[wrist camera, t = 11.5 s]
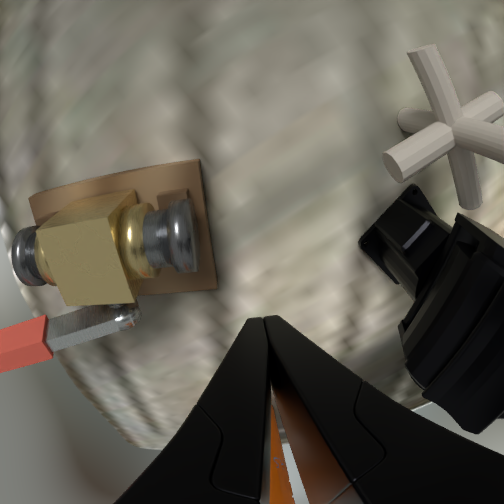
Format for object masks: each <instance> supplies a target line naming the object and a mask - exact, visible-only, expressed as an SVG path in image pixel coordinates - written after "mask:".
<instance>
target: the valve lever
mask: <svg viewBox="0 0 504 504" xmlns="http://www.w3.org/2000/svg"><path fill="white" fill-rule="evenodd" d="M141 316H142V313H141V310H140V307H139V304H138V302H137V299H136V300H135V303H126V304H125V305H123V306H122V307H120V308H116V309H113V308H110V307H109V306H108V304H101V305H92V306H89V307H86V308H83V309H80V310H77V311H74V312H71V313H67V314H64V315H61V316H58V317H55V318H52V319H48V318H47V316H46V315H43V316H40V317H37V318H34V319H31V320H28V321H25V322H22V323H19V324H16V325H13V326H10V327H7V328H4V329H1V330H0V373H2V372H5V371H9V370H13V369H16V368H20V367H24V366H28V365H31V364H35V363H38V362H41V361H45V360H49V359H52V358H53V352H54V351H57V350H60V349H63V348H67V347H70V346H73V345H76V344H80V343H83V342H86V341H89V340H92V339H96V338H99V337H102V336H105V335H108V334H111V333H114V332H117V331H122V330H126V329H129V328H131V327H133V326H135V325H136V324H137V323H138V322H139V320H140V319H141Z"/></svg>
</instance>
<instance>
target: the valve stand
mask: <svg viewBox="0 0 504 504" xmlns="http://www.w3.org/2000/svg"><path fill="white" fill-rule="evenodd" d="M28 199H29V202H30V206H31V209H32V213H33V216H34V219H35V223H36V226H32V227H27V228H24V229H22V230H20V231H19V232H18V233H17V235H16V236H15V239H14V241H13V245H12V264H13V268H14V271H15V273H16V275H17V277H18V278H19V280H20V281H21V282H22V283H23V284H25V285H27V286H42V285H45V284H47V283H48V284H49V285H52V286H57V287H58V289H59V291H60V293H61V295H62V297H63V299H64V302H65V304H66V306H80V305H101V304H108V306H109V307H110V308H113V309H116V308H120V307H122V306H123V305H125V304H126V303H135V300H136V298H137V296H139V295H152V294H164V293H176V292H188V291H199V290H209V289H217V275H216V269H215V263H214V257H213V250H212V244H211V237H210V231H209V224H208V217H207V210H206V203H205V196H204V189H203V181H202V174H201V166H200V159H195V160H187V161H180V162H174V163H167V164H161V165H155V166H150V167H144V168H139V169H133V170H128V171H123V172H119V173H114V174H109V175H105V176H100V177H96V178H92V179H87V180H83V181H79V182H75V183H71V184H68V185H64V186H60V187H57V188H53V189H49V190H46V191H43V192H39V193H36V194H34V195H32V196H31V197H29V198H28Z"/></svg>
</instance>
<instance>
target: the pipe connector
mask: <svg viewBox="0 0 504 504" xmlns="http://www.w3.org/2000/svg"><path fill="white" fill-rule="evenodd" d="M407 55H408V57H409V58H410V60H411V62H412V64H413V67H414V69H415V71H416V73H417V75H418V77H419V79H420V81H421V84H422V86H423V88H424V91H425V93H426V95H427V98H428V100H429V103H430V105H431V108H432V110H433V111H429V110H422V109H415V108H403V109H401V110H400V112H399V113H398V118H397V119H398V124H399V126H400V128H401V129H402V130H403V131H405V132H409V133H413V134H414V135H412V136H410V137H409V138H407V139H405V140H404V141H402V142H400V143H398V144H397V145H395V146H393V147H392V148H390V149H388V150H387V151H385V152H383V155H382V158H383V162H384V164H385V166H386V168H387V170H388V172H389V173H390V174H391V176H392V177H393V178H394V179H395V180H396V181H397V182H399V183H403V182H404V181H406V180H407V179H409V178H410V177H412V176H414V175H415V174H417V173H418V172H420V171H421V170H423V169H424V168H426V167H427V166H429V165H430V164H432V163H434V162H435V161H437V160H438V159H440V158H441V157H443V156H444V155H446V154H447V155H448V159H449V162H450V166H451V170H452V174H453V178H454V182H455V187H456V191H457V196H458V201H459V205H460V206H461V207H462V208H464V209H467V210H473V209H476V208H478V207H480V206H481V204H482V203H483V201H482V193H481V187H480V181H479V175H478V170H477V165H476V161H475V156H474V153H477V154H480V155H482V156H485V157H488V158H490V159H493V160H495V161H498V162H500V163H502V164H504V126H500V125H497V124H493V122H495V121H496V120H498V119H499V118H500V117H502V116H503V115H504V103H503V101H502V99H501V98H500V96H499V95H498V94H497V93H495V92H492V91H489V92H486V93H485V94H483V95H481V96H479V97H477V98H476V99H474V100H472V101H470V102H469V103H467V104H465V105H463V106H462V107H461V106H460V103H459V100H458V97H457V95H456V92H455V89H454V87H453V84H452V81H451V79H450V77H449V74H448V72H447V69H446V67H445V65H444V62H443V60H442V58H441V56H440V54H439V52H438V50H437V47H436V45H435V44H431V45H426V46H422V47H418V48H415V49H412V50H410V51H408V52H407Z"/></svg>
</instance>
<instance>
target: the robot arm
mask: <svg viewBox="0 0 504 504" xmlns="http://www.w3.org/2000/svg"><path fill="white" fill-rule="evenodd" d="M414 189H415V191H414V193H413V190H414ZM365 241H367V243H365V244H364V242H365ZM359 245H360V247H361V248H362V249H363V250H364V251H365V252H366V253H367V254H368V255H369V256H370V257H371V258H372V259H373V260H374V261H375V262H376V263H377V264H378V265H379V266H380V268H381V269H382V270H383V271H384V272H385V273H386V274H387V275H388V276H389V277H390V278H391V279H392V280H393V281H394V283H395V284H401V285H402V287H403V288H404V289H405V290H406V292H407V293H408V294H409V295H410V297H411V298H412V299H413V300H414V304H413V305H412V307H411V309H410V310H409V312H408V313H407V315H406V317H405V318H404V320H401V322H400V324H399V325H398V329H399V333H400V338H401V342H402V346H403V351H404V355H405V360H406V361H405V367H406V369H407V370H408V372H409V374H410V376H411V378H412V379H413V380H414V382H415V383H416V384H417V385H418V386H419V387H420V388H421V389H423V390H424V391H423V392H422V396H423V397H424V398H425V399H428V400H430V401H432V402H434V403H436V404H437V405H439V406H440V407H441V408H443V409H444V410H446V411H447V412H448V413H449V414H450V415H451V416H452V417H453V419H454V420H455V421H456V422H457V423H458V424H459V426H461V428H462V429H463V430H465V431H468V432H471V433H474V434H480V433H481V432H482V431H483V430H485V429H486V428H487V427H488V426H489V425H490V424H491V423H493V422H494V421H495V420H496V419H504V238H503V237H501V236H500V235H498V234H497V233H495V232H494V231H492V230H491V229H489V228H487V227H485V226H483V225H482V224H480V223H478V222H476V221H474V220H472V219H470V218H468V217H466V216H464V215H462V214H460V213H457V215H456V218H455V224H454V226H453V227H451V226H450V225H448V224H447V223H446V222H444V221H443V220H441V219H440V218H439V217H437V215H436V213H435V212H434V210H433V209H432V207H431V205H430V204H429V202H428V200H427V199H426V197H425V196H424V194H423V193H422V191H421V190H420V188H419V187H418V186H416V185H414V184H411V185H410V186H409V187H408V188H407V189H406V190H405V191H404V192H403V193H402V194H401V196H400V197H399V198H398V199H397V200H396V201H395V202H394V203H393V204H392V205H391V206H390V207H389V208H388V209H387V210H386V211H385V212H384V213H383V214H382V215H381V216H380V218H379V219H378V220H377V221H376V222H375V223H374V224H373V225H372V226H371V227H370V228H369V229H368V230H367V231H366V232H365V233H364V234H363V235H362V236H361V238H360V239H359ZM271 386H272V390H273V394H274V397H275V401H276V404H277V407H278V410H279V413H280V416H281V419H282V423H283V426H284V429H285V432H286V435H287V438H288V441H289V444H290V447H291V450H292V453H293V456H294V459H295V462H296V465H297V468H298V471H299V474H300V477H301V480H302V483H303V486H304V489H305V492H306V495H307V498H308V501H309V503H310V504H504V455H502V454H499V453H497V452H495V451H493V450H490V449H488V448H486V447H484V446H482V445H479V444H477V443H475V442H473V441H471V440H468V439H466V438H464V437H462V436H460V435H458V434H456V433H454V432H452V431H449V430H448V429H446V428H444V427H442V426H440V425H438V424H436V423H434V422H432V421H430V420H428V419H426V418H424V417H422V416H420V415H418V414H416V413H415V412H413V411H411V410H409V409H408V408H406V407H404V406H402V405H401V404H399V403H397V402H395V401H394V400H392V399H391V398H389V397H388V396H386V395H385V394H383V393H382V392H380V391H379V390H377V389H376V388H375V387H373V386H372V385H370V384H369V383H368V382H366V381H363V382H362V379H361V378H360V377H359V376H357V375H356V374H355V373H353V372H352V371H350V370H349V369H348V368H346V367H345V366H344V365H342V364H341V363H340V362H338V361H337V360H336V359H334V358H333V357H332V356H330V355H329V354H328V353H326V352H325V351H324V350H322V349H321V348H320V347H319V346H317V345H316V344H315V343H313V342H312V341H311V340H309V339H308V338H307V337H306V336H304V335H303V334H302V333H300V332H299V331H298V330H296V329H295V328H294V327H293V326H291V325H290V324H289V323H288V322H286V321H285V320H284V319H282V318H281V317H280V316H278V315H273V316H265V317H264V318H262V317H256V318H248V319H247V320H246V322H245V324H244V326H243V327H242V329H241V331H240V332H239V334H238V336H237V337H236V339H235V341H234V342H233V344H232V346H231V348H230V349H229V351H228V353H227V354H226V356H225V358H224V359H223V361H222V363H221V364H220V366H219V367H218V369H217V371H216V372H215V374H214V376H213V377H212V379H211V381H210V382H209V384H208V386H207V387H206V389H205V390H204V392H203V394H202V395H201V397H200V398H199V400H198V402H197V405H195V406H194V407H193V409H192V410H191V412H190V414H189V415H188V417H187V418H186V420H185V421H184V423H183V424H182V426H181V427H180V428H179V430H178V431H177V433H176V434H175V436H174V437H173V438H172V439H171V440H170V442H169V443H168V444H167V445H166V447H165V448H164V449H163V450H162V451H161V453H160V454H159V455H158V456H157V457H156V458H155V459H154V461H153V462H152V463H151V464H150V465H149V466H148V467H147V468H146V469H145V470H144V472H143V473H142V474H141V475H140V476H139V477H138V478H137V479H136V480H135V481H134V482H133V484H132V485H131V486H130V487H129V488H128V489H127V490H126V491H125V492H124V493H123V494H122V495H121V496H120V497H119V498H118V499H117V500H116V501H115V502H114V503H113V504H269V502H270V461H271Z"/></svg>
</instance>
